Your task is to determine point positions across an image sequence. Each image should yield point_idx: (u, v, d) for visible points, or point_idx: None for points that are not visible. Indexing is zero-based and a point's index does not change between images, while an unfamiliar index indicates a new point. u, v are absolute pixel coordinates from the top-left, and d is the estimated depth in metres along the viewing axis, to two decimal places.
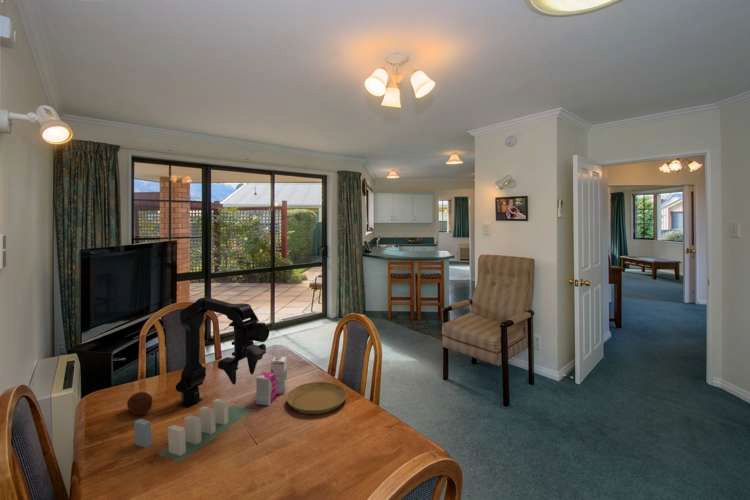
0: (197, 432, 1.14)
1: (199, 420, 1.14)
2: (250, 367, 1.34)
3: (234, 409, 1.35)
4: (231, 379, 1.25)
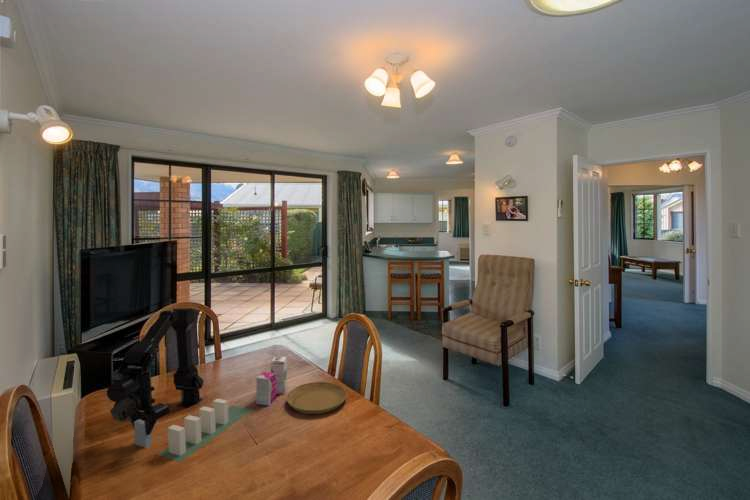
0: (197, 432, 1.14)
1: (199, 420, 1.14)
2: None
3: (234, 409, 1.35)
4: None
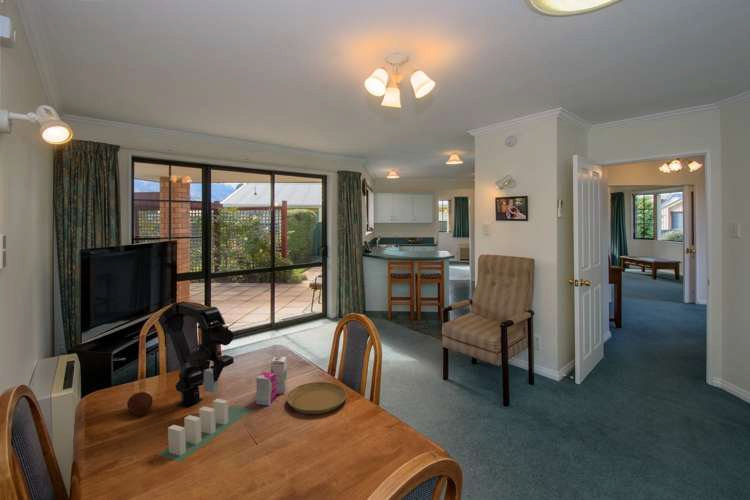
0: (197, 432, 1.14)
1: (199, 420, 1.14)
2: None
3: (234, 409, 1.35)
4: None
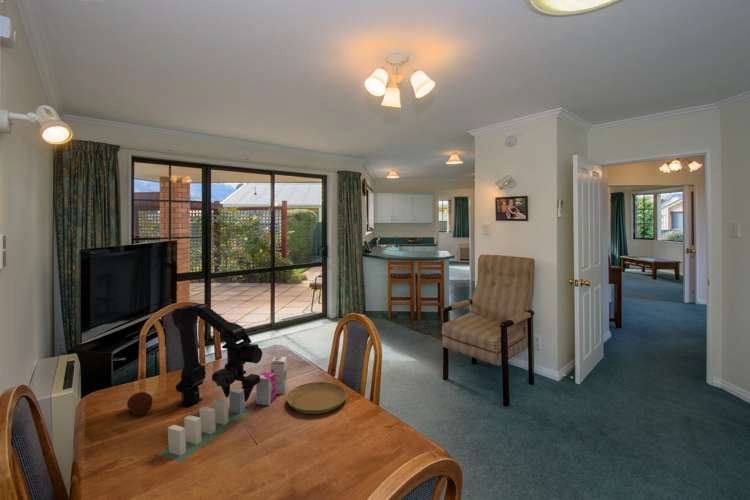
0: (197, 432, 1.14)
1: (199, 420, 1.14)
2: None
3: None
4: None
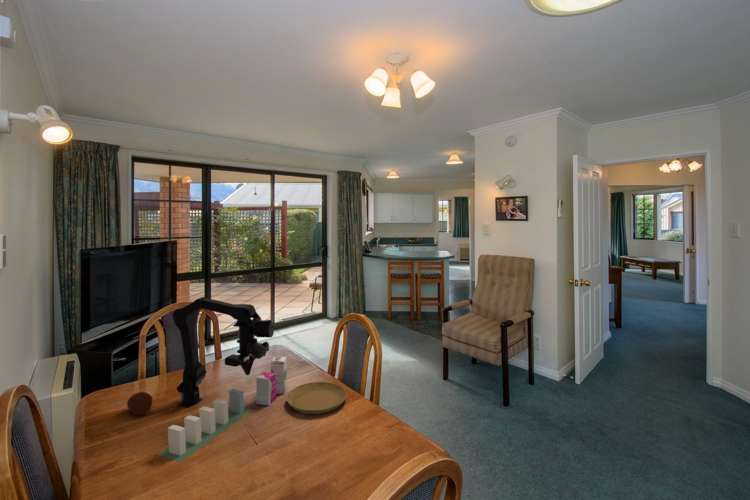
0: (197, 432, 1.14)
1: (199, 420, 1.14)
2: None
3: None
4: (245, 370, 1.38)
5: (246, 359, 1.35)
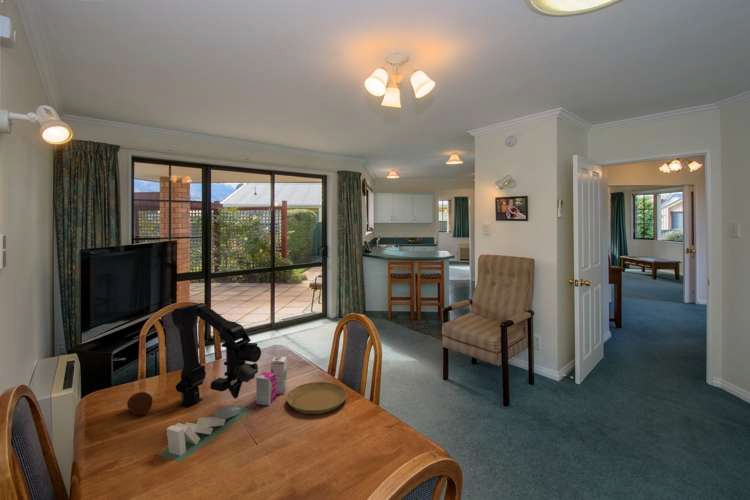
0: (192, 437, 1.12)
1: (188, 428, 1.11)
2: None
3: None
4: (232, 393, 1.32)
5: (233, 382, 1.29)
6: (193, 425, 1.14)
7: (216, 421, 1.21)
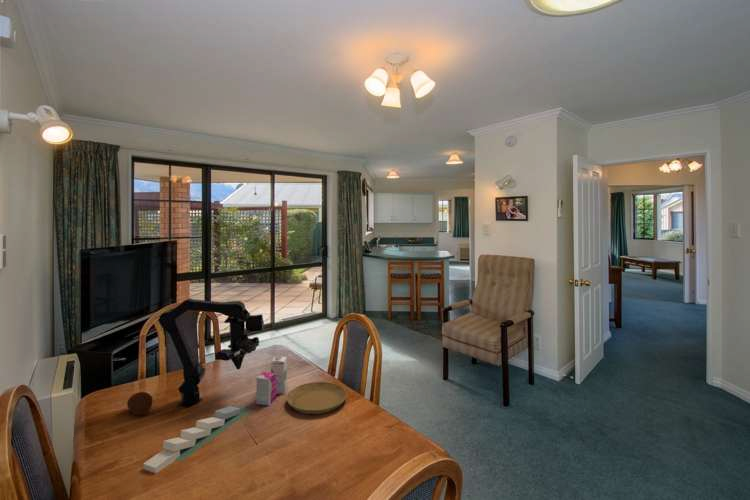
0: (186, 445, 1.10)
1: (176, 445, 1.07)
2: None
3: None
4: (235, 364, 1.43)
5: (237, 354, 1.40)
6: (189, 433, 1.12)
7: (215, 423, 1.21)
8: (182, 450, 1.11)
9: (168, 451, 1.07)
